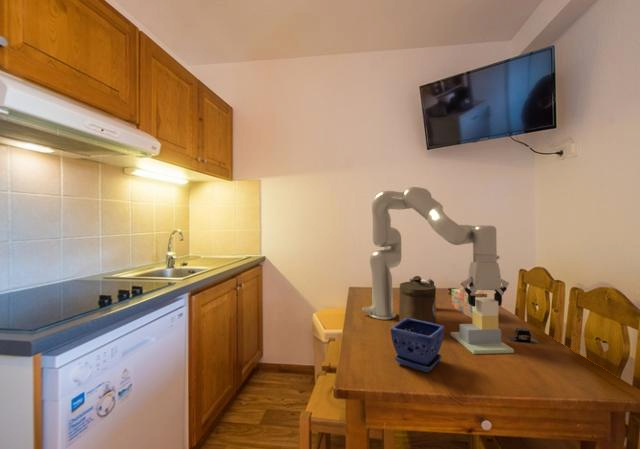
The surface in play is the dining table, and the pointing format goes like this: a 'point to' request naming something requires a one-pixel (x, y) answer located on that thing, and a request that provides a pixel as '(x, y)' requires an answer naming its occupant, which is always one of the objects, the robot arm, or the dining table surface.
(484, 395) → the dining table surface
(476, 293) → the stack of blocks
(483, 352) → the green plate
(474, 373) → the dining table surface
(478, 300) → the cream brick
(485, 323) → the mustard brick
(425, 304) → the wooden container
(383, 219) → the robot arm
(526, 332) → the black piece
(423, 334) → the flower pot
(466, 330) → the slate-blue long brick
